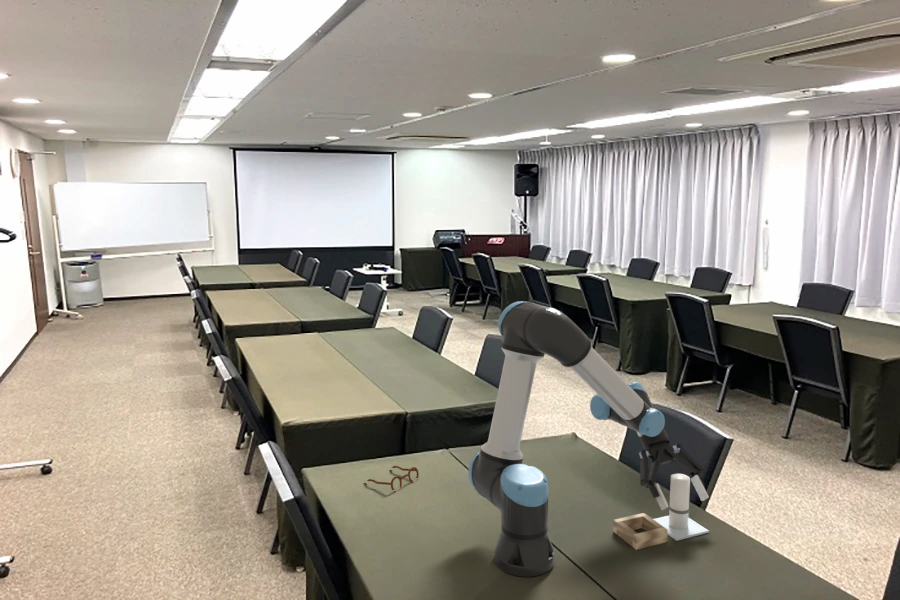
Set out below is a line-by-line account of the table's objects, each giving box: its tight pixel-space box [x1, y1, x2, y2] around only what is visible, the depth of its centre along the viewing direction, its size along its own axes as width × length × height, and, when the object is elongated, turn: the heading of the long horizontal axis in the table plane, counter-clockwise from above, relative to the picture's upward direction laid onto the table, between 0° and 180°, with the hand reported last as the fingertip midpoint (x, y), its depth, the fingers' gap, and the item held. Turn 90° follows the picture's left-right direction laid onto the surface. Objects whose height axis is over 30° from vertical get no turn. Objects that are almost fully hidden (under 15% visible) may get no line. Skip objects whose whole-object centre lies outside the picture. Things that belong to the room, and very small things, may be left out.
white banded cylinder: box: [668, 473, 691, 530], centre depth 177 cm, size 5×5×14 cm
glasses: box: [366, 465, 420, 491], centre depth 211 cm, size 13×13×5 cm
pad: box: [652, 515, 710, 542], centre depth 179 cm, size 11×11×1 cm
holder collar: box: [612, 512, 669, 551], centre depth 174 cm, size 10×10×4 cm
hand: (685, 503), depth 175 cm, fingers open, 13 cm apart
